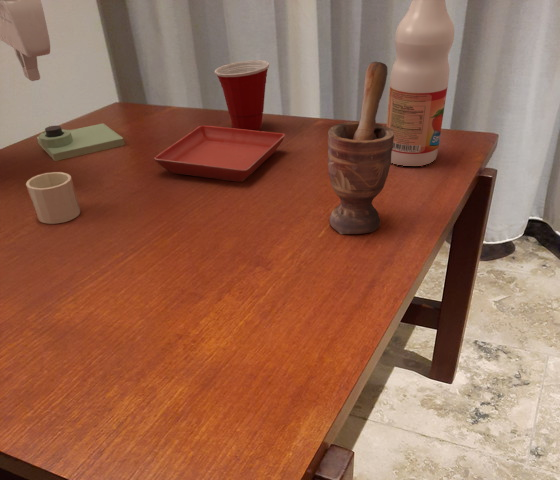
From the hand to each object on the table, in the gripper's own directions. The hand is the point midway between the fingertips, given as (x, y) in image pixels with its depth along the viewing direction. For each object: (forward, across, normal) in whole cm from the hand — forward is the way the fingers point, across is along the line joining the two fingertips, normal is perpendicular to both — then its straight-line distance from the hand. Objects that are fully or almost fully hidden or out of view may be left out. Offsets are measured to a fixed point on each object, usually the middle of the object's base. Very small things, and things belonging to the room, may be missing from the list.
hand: (33, 78), depth 91 cm
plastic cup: (+16, +2, +38) cm, 42 cm away
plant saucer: (+16, +15, +25) cm, 34 cm away
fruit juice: (+16, +35, +53) cm, 65 cm away
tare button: (+13, -12, +3) cm, 18 cm away
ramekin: (+15, +18, -6) cm, 24 cm away
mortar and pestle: (+16, +47, +30) cm, 58 cm away
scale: (+15, -12, +8) cm, 21 cm away
